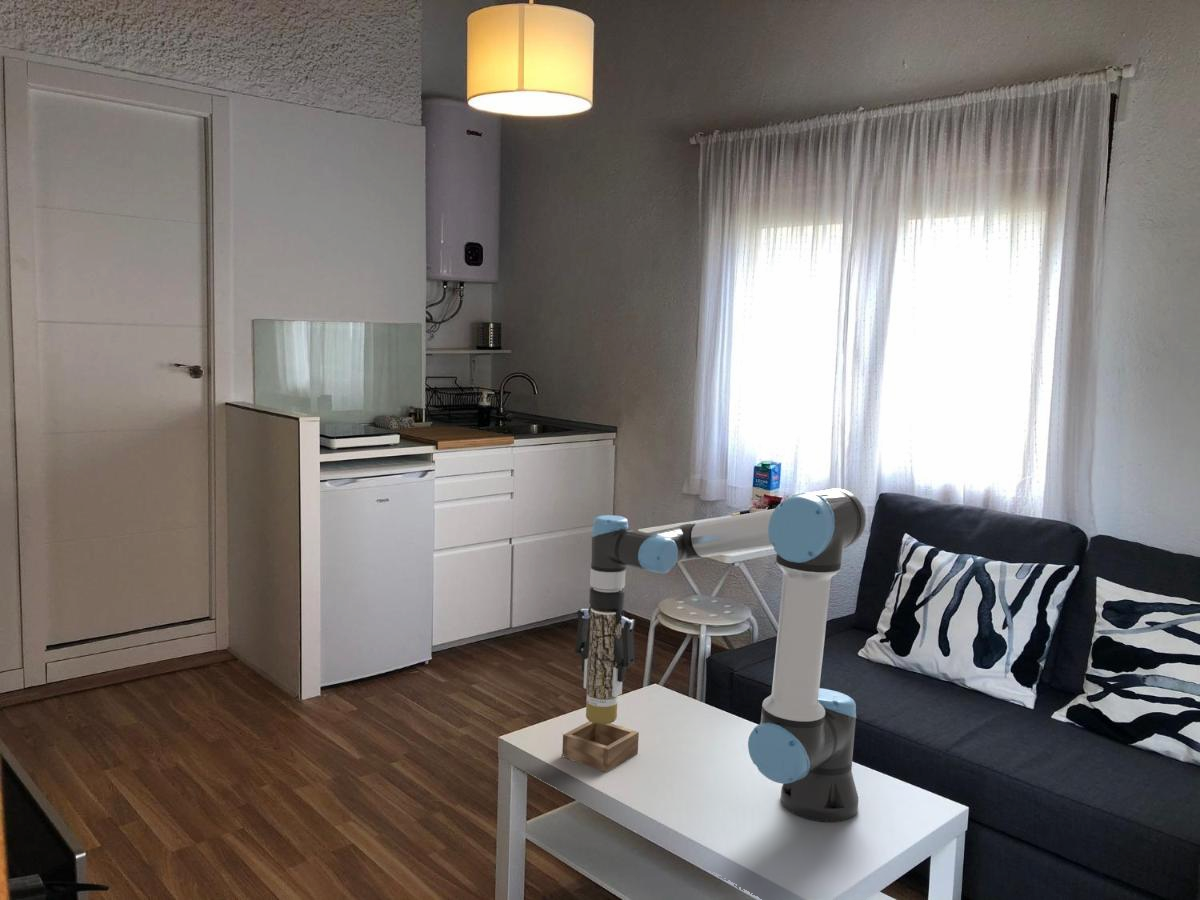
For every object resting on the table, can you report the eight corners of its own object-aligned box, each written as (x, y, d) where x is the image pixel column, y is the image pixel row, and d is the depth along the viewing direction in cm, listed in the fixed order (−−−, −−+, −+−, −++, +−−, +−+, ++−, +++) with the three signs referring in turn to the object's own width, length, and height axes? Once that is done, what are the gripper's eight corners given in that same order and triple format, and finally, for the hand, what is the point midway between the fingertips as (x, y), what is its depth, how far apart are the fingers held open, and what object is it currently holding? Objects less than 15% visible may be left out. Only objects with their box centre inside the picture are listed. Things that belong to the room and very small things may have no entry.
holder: (637, 753, 222) (638, 732, 221) (607, 772, 212) (608, 749, 212) (593, 739, 229) (594, 718, 228) (562, 756, 219) (563, 734, 218)
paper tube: (613, 727, 216) (619, 613, 213) (582, 723, 217) (587, 610, 214) (619, 715, 222) (624, 605, 219) (589, 711, 224) (594, 602, 220)
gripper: (655, 592, 214) (650, 697, 216) (580, 576, 225) (575, 675, 227) (636, 599, 207) (631, 707, 210) (560, 582, 218) (555, 684, 221)
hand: (602, 690), depth 219 cm, fingers closed on paper tube, 7 cm apart
